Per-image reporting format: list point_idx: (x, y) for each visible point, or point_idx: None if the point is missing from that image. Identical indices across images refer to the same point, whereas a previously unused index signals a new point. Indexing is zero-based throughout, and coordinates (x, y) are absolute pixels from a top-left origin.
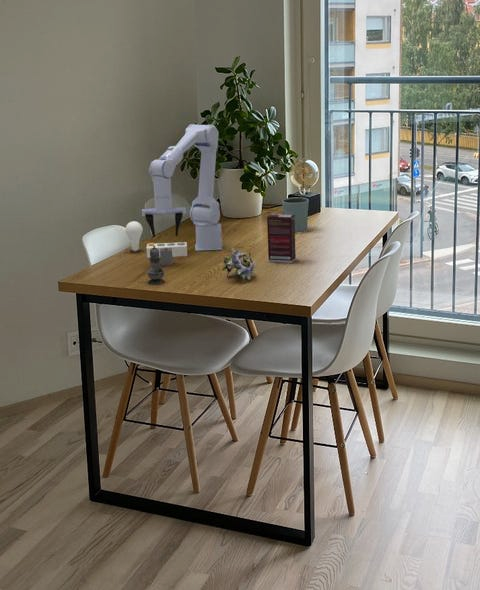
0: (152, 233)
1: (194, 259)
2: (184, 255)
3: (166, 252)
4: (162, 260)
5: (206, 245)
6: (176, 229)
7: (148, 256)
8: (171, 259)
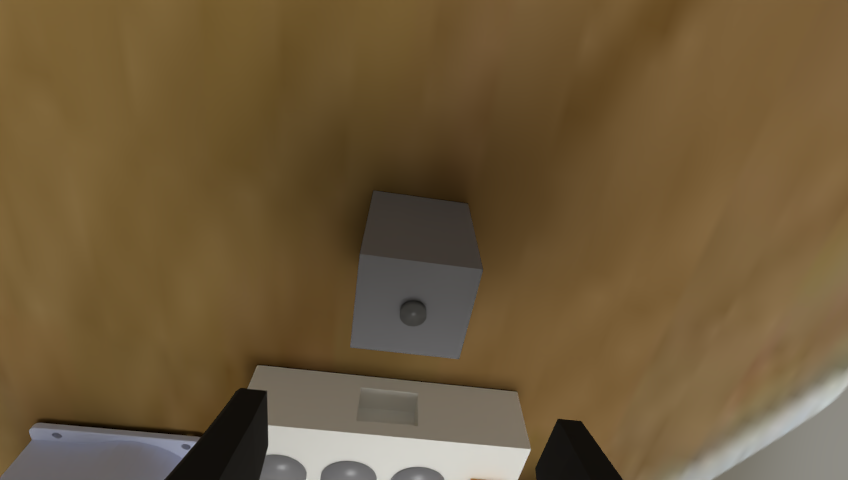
0: (608, 460)
1: (200, 284)
2: (274, 370)
3: (417, 252)
4: (455, 219)
5: (118, 462)
6: (207, 471)
7: (509, 398)
8: (376, 211)
